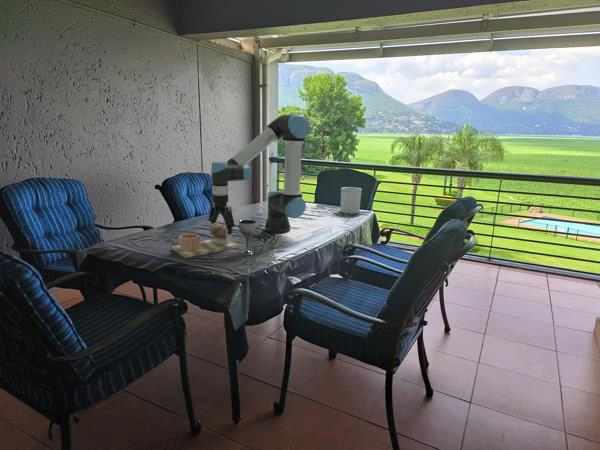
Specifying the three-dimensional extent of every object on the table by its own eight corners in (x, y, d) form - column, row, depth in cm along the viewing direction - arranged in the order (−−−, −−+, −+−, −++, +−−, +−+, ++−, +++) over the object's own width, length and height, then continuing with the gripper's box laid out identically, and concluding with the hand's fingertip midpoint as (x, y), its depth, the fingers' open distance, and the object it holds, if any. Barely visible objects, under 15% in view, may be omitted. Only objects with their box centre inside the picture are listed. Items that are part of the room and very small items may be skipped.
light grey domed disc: (231, 241, 192) (231, 235, 191) (225, 245, 184) (225, 239, 183) (217, 239, 193) (216, 234, 193) (210, 244, 186) (209, 238, 185)
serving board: (224, 240, 198) (224, 237, 198) (239, 247, 187) (239, 244, 187) (171, 249, 181) (171, 246, 180) (184, 257, 170) (184, 254, 169)
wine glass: (239, 249, 184) (239, 219, 180) (256, 249, 184) (256, 219, 181) (238, 255, 176) (238, 223, 172) (255, 255, 177) (255, 223, 173)
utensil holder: (340, 209, 287) (341, 186, 282) (359, 210, 285) (361, 187, 280) (339, 213, 272) (340, 189, 268) (360, 214, 270) (361, 190, 266)
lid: (236, 231, 192) (236, 225, 191) (227, 237, 181) (227, 231, 181) (216, 229, 194) (215, 223, 193) (206, 235, 184) (206, 229, 183)
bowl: (203, 246, 182) (202, 234, 180) (193, 252, 173) (193, 239, 172) (185, 244, 184) (185, 232, 182) (176, 250, 175) (175, 237, 174)
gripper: (199, 191, 188) (201, 234, 193) (228, 198, 172) (230, 244, 178) (212, 190, 193) (214, 231, 199) (241, 196, 178) (242, 241, 183)
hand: (221, 237), depth 188 cm, fingers closed on lid, 11 cm apart
